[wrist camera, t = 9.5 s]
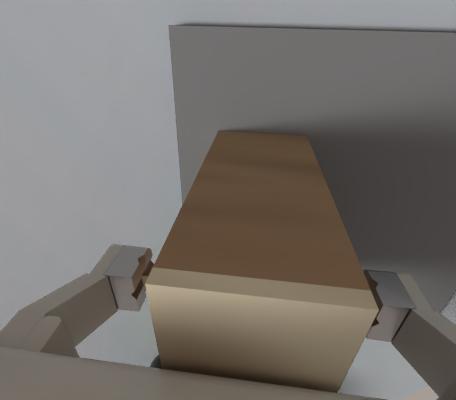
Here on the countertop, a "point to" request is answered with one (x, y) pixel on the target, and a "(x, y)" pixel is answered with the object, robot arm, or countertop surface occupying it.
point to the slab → (260, 271)
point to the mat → (340, 128)
